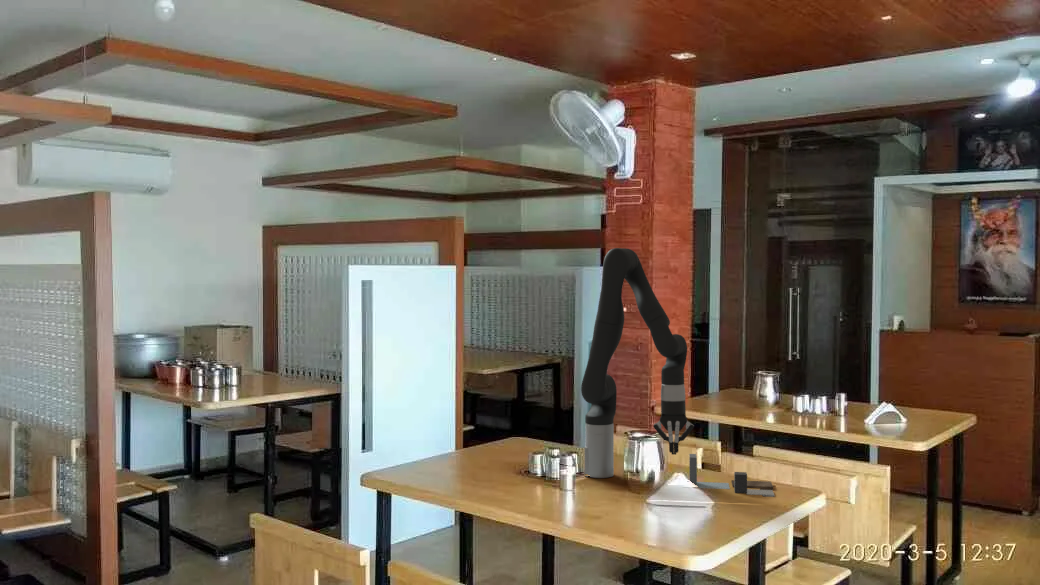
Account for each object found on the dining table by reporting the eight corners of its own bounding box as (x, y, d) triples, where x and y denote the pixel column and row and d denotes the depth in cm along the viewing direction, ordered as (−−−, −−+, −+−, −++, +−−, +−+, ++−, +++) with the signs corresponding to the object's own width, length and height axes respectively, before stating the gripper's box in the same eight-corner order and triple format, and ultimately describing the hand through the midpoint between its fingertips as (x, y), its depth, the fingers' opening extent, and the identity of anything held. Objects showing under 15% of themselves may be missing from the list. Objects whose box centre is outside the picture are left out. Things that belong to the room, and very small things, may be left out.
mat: (683, 488, 274) (683, 487, 274) (683, 482, 282) (683, 481, 282) (729, 490, 271) (729, 489, 271) (728, 484, 279) (728, 483, 279)
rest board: (732, 488, 274) (732, 485, 273) (731, 483, 280) (731, 480, 280) (773, 490, 271) (773, 486, 271) (770, 484, 278) (770, 481, 278)
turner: (734, 490, 271) (734, 470, 271) (772, 492, 269) (772, 472, 269) (735, 495, 265) (735, 475, 265) (774, 496, 263) (774, 476, 263)
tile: (689, 486, 274) (689, 457, 274) (689, 482, 280) (689, 453, 280) (696, 487, 274) (696, 457, 274) (696, 482, 280) (696, 454, 280)
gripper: (651, 400, 275) (652, 456, 275) (694, 400, 273) (695, 456, 273) (652, 397, 283) (652, 451, 283) (694, 397, 280) (695, 452, 280)
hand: (674, 454), depth 278 cm, fingers closed
